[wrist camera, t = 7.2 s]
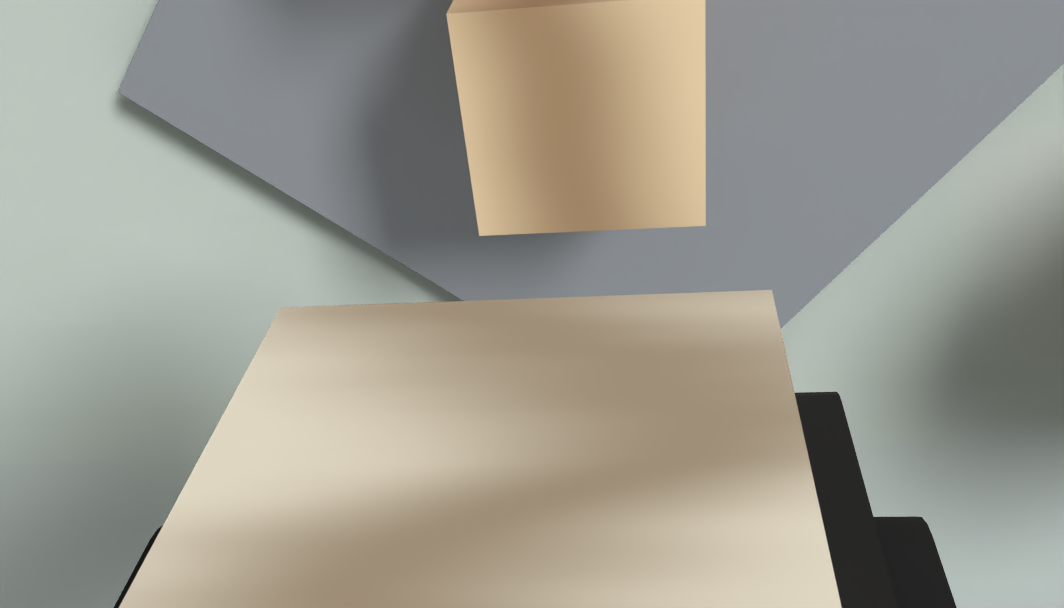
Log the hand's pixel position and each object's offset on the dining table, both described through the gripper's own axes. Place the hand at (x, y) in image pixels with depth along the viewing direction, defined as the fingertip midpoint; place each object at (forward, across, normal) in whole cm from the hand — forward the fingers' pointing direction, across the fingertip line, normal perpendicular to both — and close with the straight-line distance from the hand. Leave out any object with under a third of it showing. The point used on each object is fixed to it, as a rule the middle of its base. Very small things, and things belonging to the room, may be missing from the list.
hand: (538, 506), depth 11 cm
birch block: (0, 0, 0) cm, 0 cm away
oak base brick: (+16, 0, 0) cm, 16 cm away
